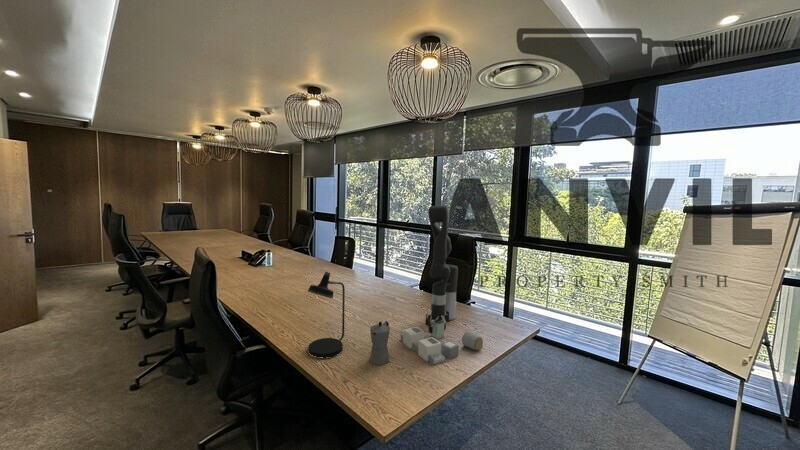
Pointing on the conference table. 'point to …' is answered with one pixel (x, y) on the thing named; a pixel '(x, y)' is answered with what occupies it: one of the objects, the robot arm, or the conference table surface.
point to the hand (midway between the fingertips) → (437, 331)
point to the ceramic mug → (472, 340)
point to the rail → (431, 359)
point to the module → (438, 330)
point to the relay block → (449, 349)
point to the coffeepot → (379, 343)
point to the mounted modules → (421, 342)
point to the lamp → (335, 346)
